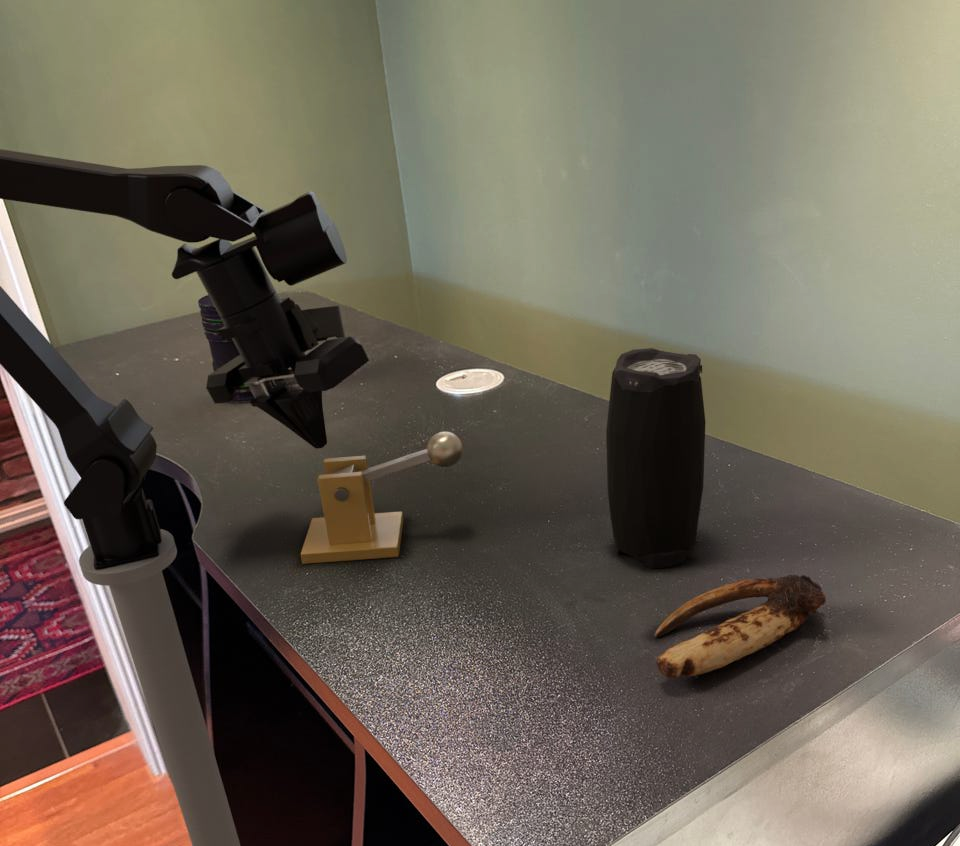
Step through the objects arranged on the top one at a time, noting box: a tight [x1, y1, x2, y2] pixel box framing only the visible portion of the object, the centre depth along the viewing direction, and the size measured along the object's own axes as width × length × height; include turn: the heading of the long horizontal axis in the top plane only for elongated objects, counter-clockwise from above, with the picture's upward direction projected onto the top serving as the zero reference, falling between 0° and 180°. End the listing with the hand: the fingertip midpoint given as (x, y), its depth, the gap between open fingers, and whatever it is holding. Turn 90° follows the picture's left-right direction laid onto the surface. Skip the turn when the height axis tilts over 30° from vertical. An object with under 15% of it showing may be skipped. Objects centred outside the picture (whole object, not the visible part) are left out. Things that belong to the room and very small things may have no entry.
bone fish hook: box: [654, 574, 827, 679], centre depth 76 cm, size 9×5×18 cm
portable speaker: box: [605, 347, 706, 570], centre depth 86 cm, size 9×9×20 cm
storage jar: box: [197, 294, 255, 404], centre depth 139 cm, size 10×10×18 cm
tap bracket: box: [300, 455, 405, 565], centre depth 95 cm, size 10×8×9 cm
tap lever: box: [329, 431, 463, 483], centre depth 93 cm, size 14×4×4 cm, turn 90°
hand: (321, 446), depth 93 cm, fingers closed
